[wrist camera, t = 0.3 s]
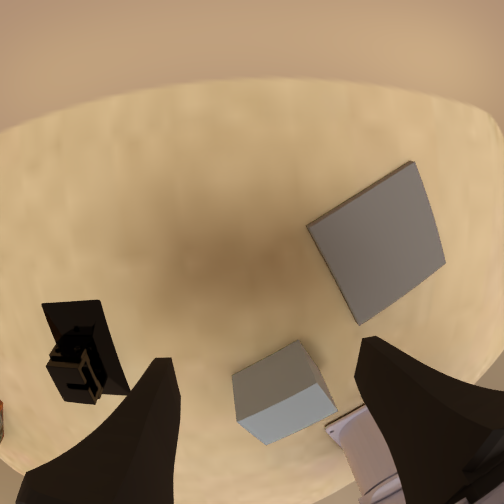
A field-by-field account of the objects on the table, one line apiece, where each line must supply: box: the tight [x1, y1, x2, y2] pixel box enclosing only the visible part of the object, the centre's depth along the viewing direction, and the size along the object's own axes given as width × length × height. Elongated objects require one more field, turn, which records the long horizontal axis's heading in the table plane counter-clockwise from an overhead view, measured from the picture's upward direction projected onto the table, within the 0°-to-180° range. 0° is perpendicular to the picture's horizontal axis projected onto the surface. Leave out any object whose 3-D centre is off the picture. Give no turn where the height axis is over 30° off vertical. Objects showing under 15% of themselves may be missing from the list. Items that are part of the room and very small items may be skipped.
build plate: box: [42, 300, 130, 405], centre depth 19 cm, size 12×7×5 cm, turn 3°
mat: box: [306, 161, 446, 326], centre depth 20 cm, size 9×9×1 cm
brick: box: [232, 340, 338, 445], centre depth 21 cm, size 4×6×5 cm, turn 121°
